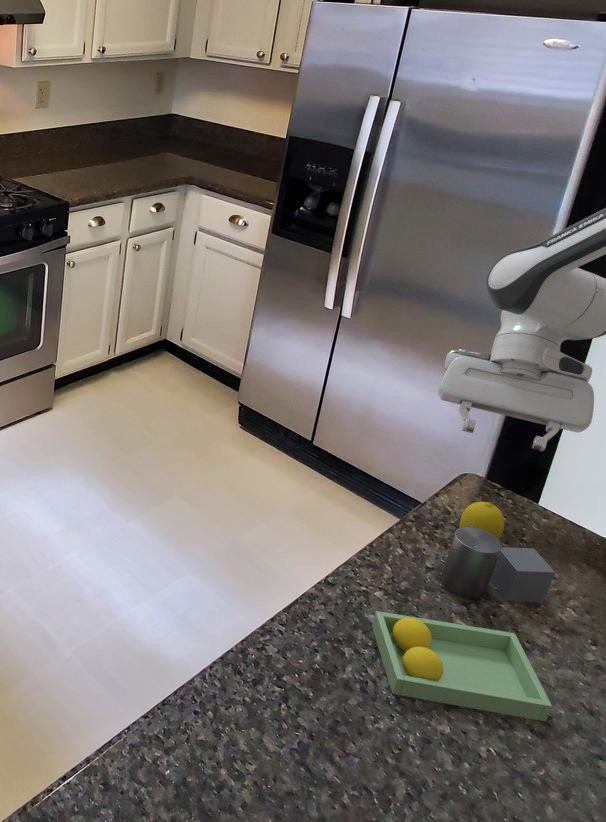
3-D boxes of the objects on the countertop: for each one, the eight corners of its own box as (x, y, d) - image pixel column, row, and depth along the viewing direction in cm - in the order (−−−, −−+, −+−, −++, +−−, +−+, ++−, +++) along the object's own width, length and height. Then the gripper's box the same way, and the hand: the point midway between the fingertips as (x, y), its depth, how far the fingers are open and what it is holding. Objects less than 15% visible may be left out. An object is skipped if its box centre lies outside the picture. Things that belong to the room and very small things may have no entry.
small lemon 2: (432, 667, 101) (441, 642, 100) (443, 695, 98) (452, 669, 96) (394, 661, 102) (402, 636, 101) (403, 688, 99) (412, 662, 97)
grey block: (521, 580, 116) (534, 548, 114) (542, 605, 112) (555, 572, 109) (485, 579, 117) (497, 546, 114) (505, 604, 112) (517, 570, 110)
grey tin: (476, 578, 117) (493, 529, 113) (489, 605, 112) (508, 555, 108) (434, 572, 118) (449, 523, 114) (445, 599, 113) (462, 549, 109)
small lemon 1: (421, 638, 106) (429, 613, 104) (431, 664, 102) (440, 638, 100) (385, 632, 107) (393, 607, 105) (393, 657, 103) (401, 632, 101)
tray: (508, 650, 105) (515, 633, 103) (544, 724, 94) (552, 706, 93) (370, 627, 108) (375, 610, 107) (391, 697, 98) (397, 678, 97)
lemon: (454, 529, 127) (467, 488, 123) (495, 540, 124) (510, 499, 121) (453, 549, 123) (467, 507, 119) (496, 561, 120) (511, 518, 117)
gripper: (450, 339, 132) (429, 415, 128) (605, 370, 121) (586, 454, 118) (446, 353, 137) (425, 426, 134) (594, 384, 126) (575, 465, 123)
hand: (502, 440), depth 126 cm, fingers open, 8 cm apart
